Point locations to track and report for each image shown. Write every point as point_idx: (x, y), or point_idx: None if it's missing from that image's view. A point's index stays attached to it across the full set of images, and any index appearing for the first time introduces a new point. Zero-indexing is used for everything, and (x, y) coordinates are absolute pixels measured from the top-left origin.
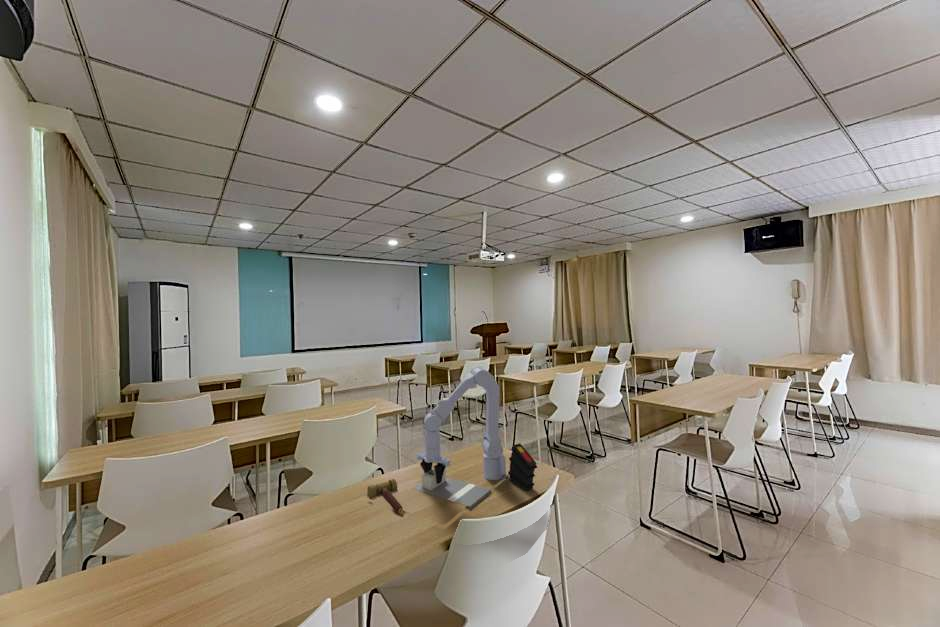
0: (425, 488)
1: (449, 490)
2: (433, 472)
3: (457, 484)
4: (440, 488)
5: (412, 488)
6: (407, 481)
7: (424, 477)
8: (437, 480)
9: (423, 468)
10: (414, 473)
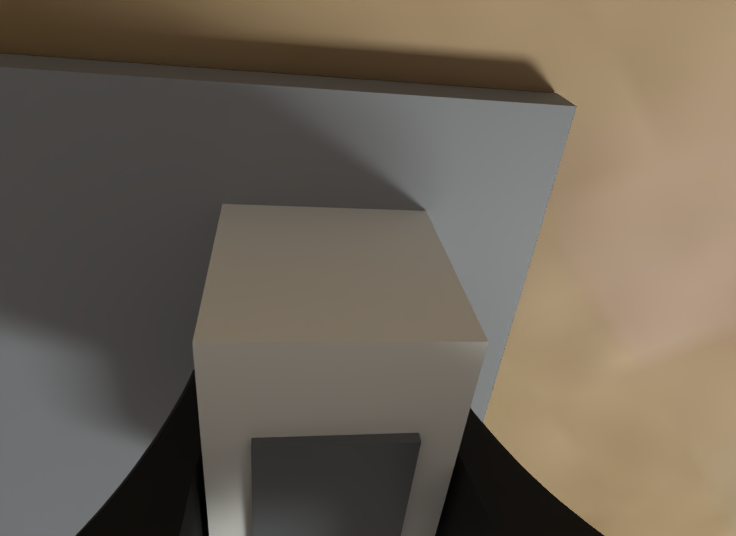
0: (349, 206)
1: None
2: (313, 516)
3: (13, 479)
4: (127, 309)
5: (565, 109)
6: (733, 289)
7: (396, 323)
8: (186, 399)
9: (552, 523)
10: (710, 447)
